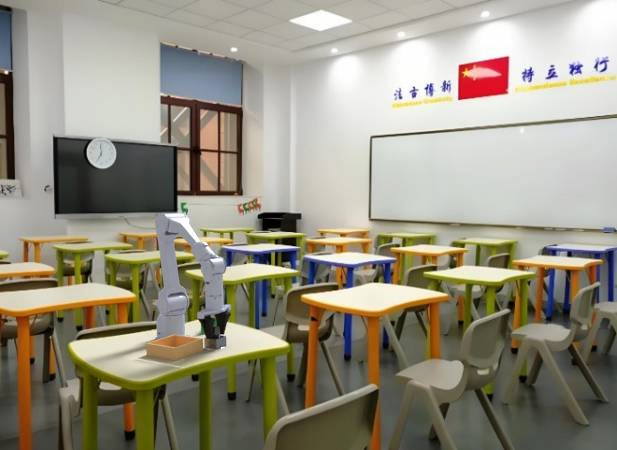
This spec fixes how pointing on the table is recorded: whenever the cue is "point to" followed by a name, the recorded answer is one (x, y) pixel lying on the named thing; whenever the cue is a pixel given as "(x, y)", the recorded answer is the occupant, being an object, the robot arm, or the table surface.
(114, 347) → the table surface
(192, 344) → the bin
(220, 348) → the stud plate
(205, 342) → the grey stepped block
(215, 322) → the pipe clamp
